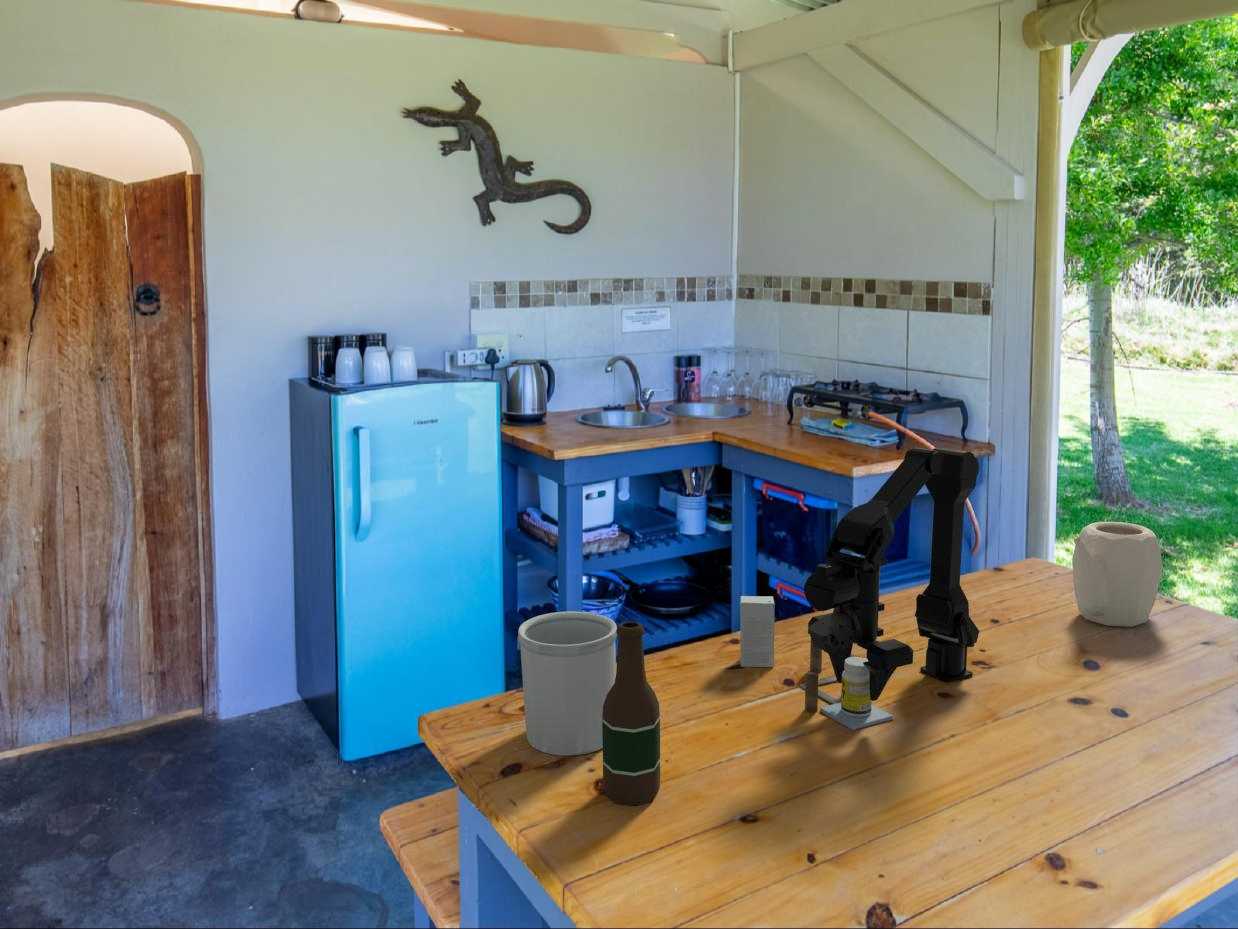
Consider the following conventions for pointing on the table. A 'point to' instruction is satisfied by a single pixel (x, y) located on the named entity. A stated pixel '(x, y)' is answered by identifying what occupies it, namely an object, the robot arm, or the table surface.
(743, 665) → the skincare box
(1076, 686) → the table surface
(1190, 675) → the table surface
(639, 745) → the beer bottle
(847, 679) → the supplement bottle
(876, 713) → the pad
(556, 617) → the utensil holder
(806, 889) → the table surface
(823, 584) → the robot arm
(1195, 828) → the table surface
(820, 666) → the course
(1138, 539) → the faceted clay vase
